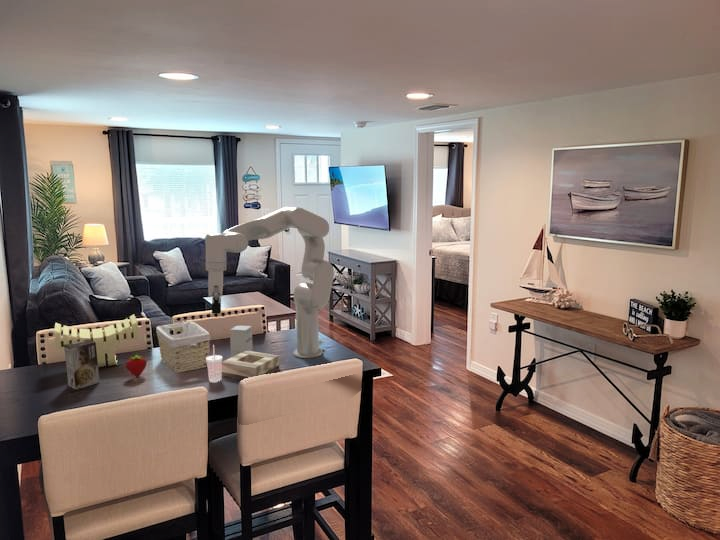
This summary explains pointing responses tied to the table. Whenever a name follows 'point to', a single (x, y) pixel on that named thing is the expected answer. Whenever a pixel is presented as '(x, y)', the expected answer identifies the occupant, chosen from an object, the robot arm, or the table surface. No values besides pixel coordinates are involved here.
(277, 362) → the socket block
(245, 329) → the supplement box
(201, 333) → the storage basket
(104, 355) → the slatted curved stool
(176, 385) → the table surface
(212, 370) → the beverage cup
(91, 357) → the coffee box
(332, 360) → the table surface
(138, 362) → the strawberry
